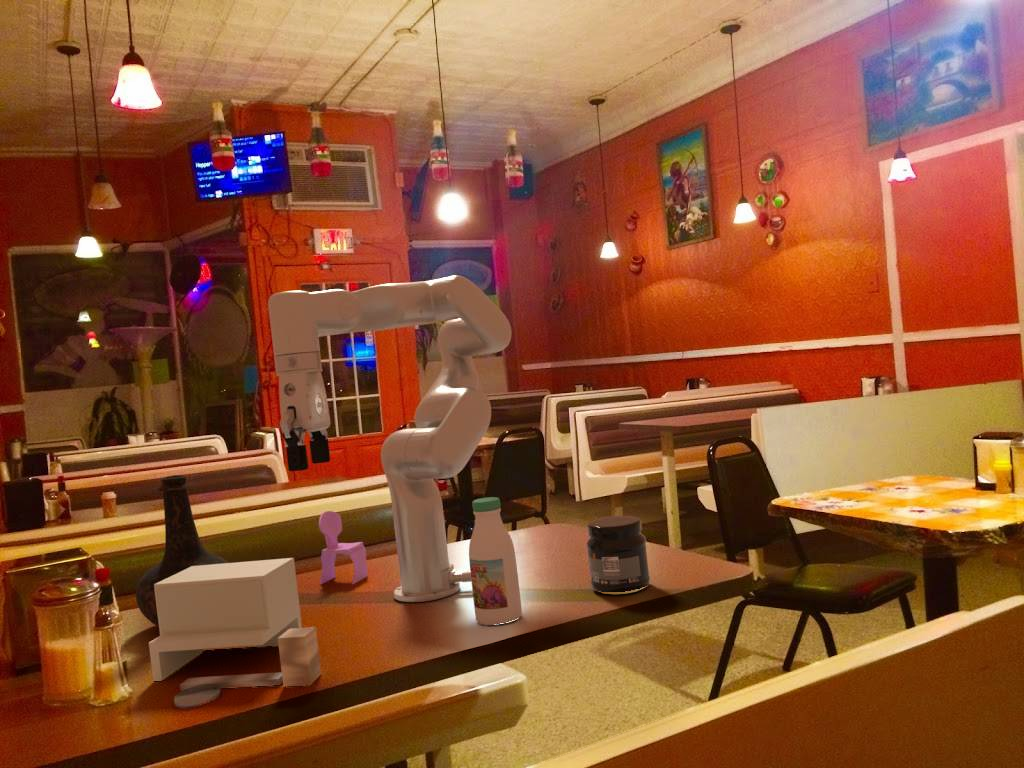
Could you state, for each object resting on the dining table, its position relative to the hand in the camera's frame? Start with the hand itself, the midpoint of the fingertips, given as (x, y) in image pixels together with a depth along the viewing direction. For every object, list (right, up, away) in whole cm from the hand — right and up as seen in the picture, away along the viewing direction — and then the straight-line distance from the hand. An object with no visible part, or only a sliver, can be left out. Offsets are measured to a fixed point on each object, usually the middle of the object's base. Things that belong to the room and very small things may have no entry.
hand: (310, 466), depth 135 cm
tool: (-4, -29, -20) cm, 36 cm away
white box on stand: (-10, -30, -9) cm, 33 cm away
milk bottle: (+32, -25, -3) cm, 41 cm away
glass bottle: (-27, -32, +17) cm, 44 cm away
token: (-10, -30, -23) cm, 40 cm away
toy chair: (-2, -28, +36) cm, 46 cm away
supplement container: (+53, -23, +7) cm, 58 cm away
